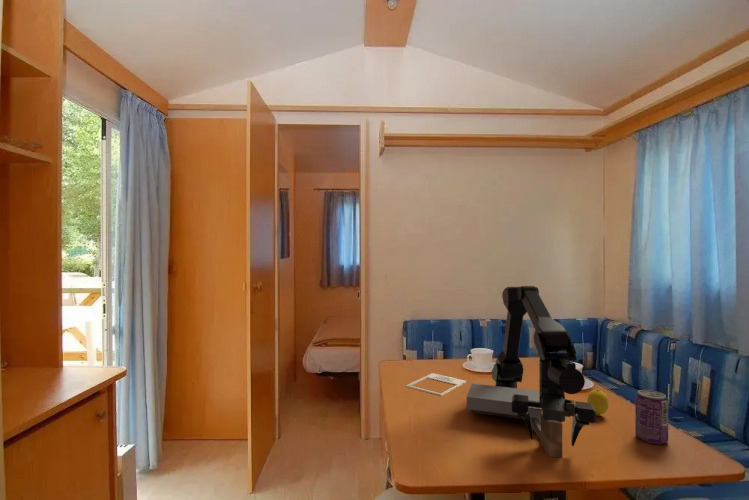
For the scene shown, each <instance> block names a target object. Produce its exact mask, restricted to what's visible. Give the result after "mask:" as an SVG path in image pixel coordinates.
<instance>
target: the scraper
mask: <svg viewBox="0 0 749 500" xmlns="http://www.w3.org/2000/svg"><path fill="white" fill-rule="evenodd" d="M531 423H532V430H533V431H534V432H535V434H536V435H537V436H538V438H539V439H540V446H541V447H542V448H543V450H544V451H545V453H546V454H547V455H548V457H550V458H551V457H552V458H563V422H558V421H554V420H545V419H544V418H543V415H542V413H541V427H540V425H539V424H538V423H537V422H536V420H535V419H534V418H532V417H531Z"/></svg>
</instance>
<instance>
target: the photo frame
mask: <svg viewBox="0 0 749 500" xmlns="http://www.w3.org/2000/svg"><path fill="white" fill-rule="evenodd" d="M426 379H429V380H432V379H434V380H433V381H437V380H438V382H441V381H442V382H441V383H445V382H446V383H445V384H449V383H450V385H453V384H455V385H454V386H452V387H450V388H447V390H445V391H443V392H441V393H440V392H437V391H433V390H429V389H424V388H422V387H418V386H417V387H416V386H415V385H416V384H417V383H420V382H421V381H424V380H426ZM463 383H464V384H465V383H467V380H464V379H459V378H456V377H450V376H446V375H443V374H438V373H434V372H432V373H430V374H428V375H425V376H423V377H421V378H419V379H416V380H415V381H412V382H410V383H409V384H406V385H405V386H406V388H409V389H413V390H417V391H421V392H425V393H429V394H433V395H435V396H440V397H443V396H444V395H446V394H447V393H449V392H451V391H453V390H455V389H457V388H458V387H460V386H462V385H463ZM456 387H457V388H456Z"/></svg>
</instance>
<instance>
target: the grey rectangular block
mask: <svg viewBox="0 0 749 500" xmlns="http://www.w3.org/2000/svg"><path fill="white" fill-rule="evenodd" d="M514 394H517V395H525V396H528V400H529V401H537V402H539V390H535V389H534V390H533V389H527V388H518V387H517V388H509V387H500V386H495V385H489V384H481V383H471V384H470V387H469V390H468V393H467V395H466V410H470V413H475V414H483V415H489V416H490V415H491V416H498V417H505V418H511V419H512V418H513V419H521V420H524V419H523V418H522V417H521V416H518V415H517V413H514V412H512V396H513V395H514ZM541 413H542V410H536V409H530V415H531V417H532V418H539V419H541Z"/></svg>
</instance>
